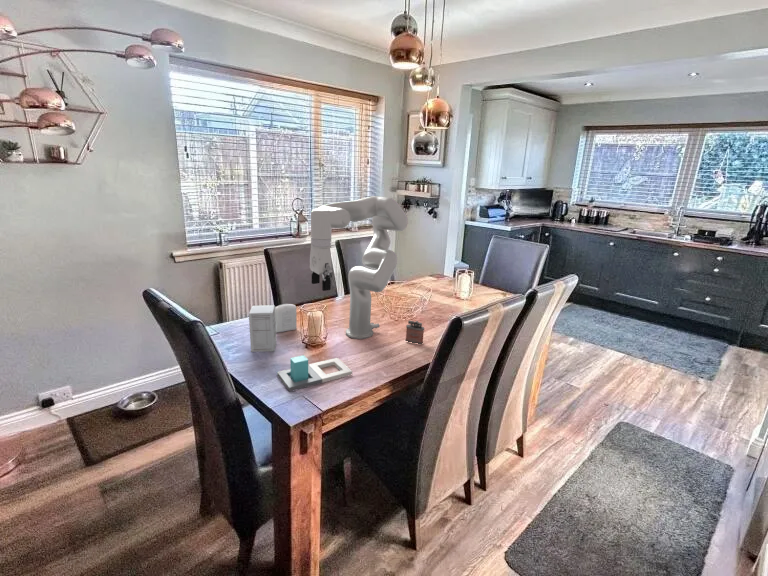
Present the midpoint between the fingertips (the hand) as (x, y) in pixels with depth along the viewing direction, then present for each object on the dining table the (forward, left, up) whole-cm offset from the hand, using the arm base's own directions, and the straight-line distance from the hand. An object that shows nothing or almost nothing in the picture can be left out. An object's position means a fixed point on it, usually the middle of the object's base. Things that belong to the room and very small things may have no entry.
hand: (320, 286), depth 152 cm
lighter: (-41, +9, -28) cm, 51 cm away
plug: (+15, +15, -28) cm, 35 cm away
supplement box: (+18, -16, -28) cm, 37 cm away
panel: (+9, +15, -28) cm, 33 cm away
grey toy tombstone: (+4, -29, -29) cm, 41 cm away
